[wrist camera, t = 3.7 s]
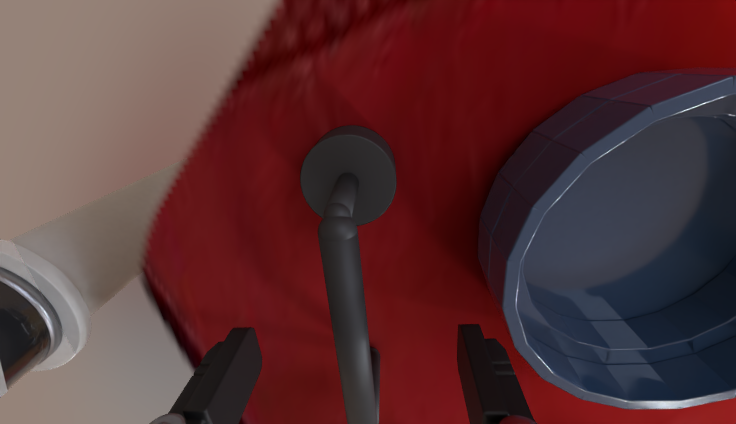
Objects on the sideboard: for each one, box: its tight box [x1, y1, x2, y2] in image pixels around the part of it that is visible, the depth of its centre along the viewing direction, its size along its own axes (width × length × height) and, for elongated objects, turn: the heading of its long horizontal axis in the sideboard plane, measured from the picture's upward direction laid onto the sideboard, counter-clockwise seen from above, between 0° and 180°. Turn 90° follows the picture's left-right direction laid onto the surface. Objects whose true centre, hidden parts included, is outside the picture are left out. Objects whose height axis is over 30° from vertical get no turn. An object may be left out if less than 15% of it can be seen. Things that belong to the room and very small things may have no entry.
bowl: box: [478, 68, 736, 409], centre depth 16 cm, size 15×15×5 cm
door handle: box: [300, 125, 397, 424], centre depth 16 cm, size 15×4×7 cm, turn 5°
